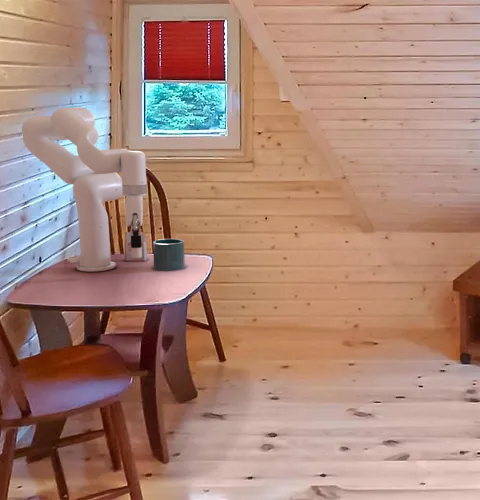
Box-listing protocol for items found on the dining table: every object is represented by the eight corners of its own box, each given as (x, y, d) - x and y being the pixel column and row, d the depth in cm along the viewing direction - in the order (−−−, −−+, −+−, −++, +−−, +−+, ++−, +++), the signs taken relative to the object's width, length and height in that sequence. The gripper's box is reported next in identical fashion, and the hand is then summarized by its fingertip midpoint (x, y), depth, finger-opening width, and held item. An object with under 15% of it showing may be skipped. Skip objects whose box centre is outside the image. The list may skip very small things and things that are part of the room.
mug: (185, 269, 257) (184, 243, 255) (154, 271, 255) (153, 244, 253) (183, 261, 270) (182, 236, 268) (153, 262, 268) (152, 237, 266)
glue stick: (131, 258, 247) (130, 230, 245) (131, 255, 250) (130, 228, 248) (142, 257, 248) (141, 230, 246) (142, 255, 251) (141, 228, 249)
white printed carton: (128, 258, 274) (126, 231, 272) (147, 259, 274) (145, 231, 272) (125, 261, 270) (123, 233, 268) (144, 261, 270) (143, 233, 268)
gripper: (122, 186, 251) (124, 241, 255) (121, 193, 235) (123, 252, 239) (146, 186, 253) (148, 241, 257) (146, 193, 237) (148, 251, 241)
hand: (136, 245), depth 248 cm, fingers closed on glue stick, 3 cm apart
